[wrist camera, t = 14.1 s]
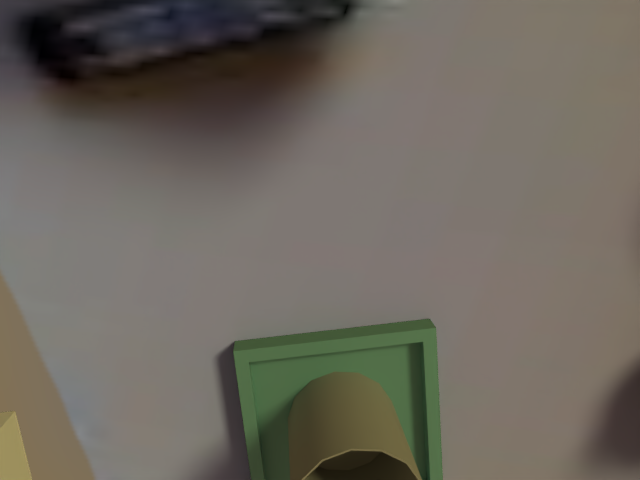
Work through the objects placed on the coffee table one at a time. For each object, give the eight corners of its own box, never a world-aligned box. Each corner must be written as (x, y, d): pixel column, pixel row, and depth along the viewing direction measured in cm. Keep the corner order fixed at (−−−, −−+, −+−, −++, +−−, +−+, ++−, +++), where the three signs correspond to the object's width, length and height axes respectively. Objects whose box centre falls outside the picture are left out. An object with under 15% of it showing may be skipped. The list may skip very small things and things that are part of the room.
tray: (234, 341, 44) (233, 351, 42) (429, 318, 44) (435, 327, 43) (258, 509, 47) (257, 525, 45) (437, 486, 48) (443, 500, 46)
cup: (268, 438, 45) (266, 532, 35) (322, 353, 44) (335, 426, 34) (359, 482, 47) (381, 582, 37) (414, 401, 45) (451, 484, 36)
